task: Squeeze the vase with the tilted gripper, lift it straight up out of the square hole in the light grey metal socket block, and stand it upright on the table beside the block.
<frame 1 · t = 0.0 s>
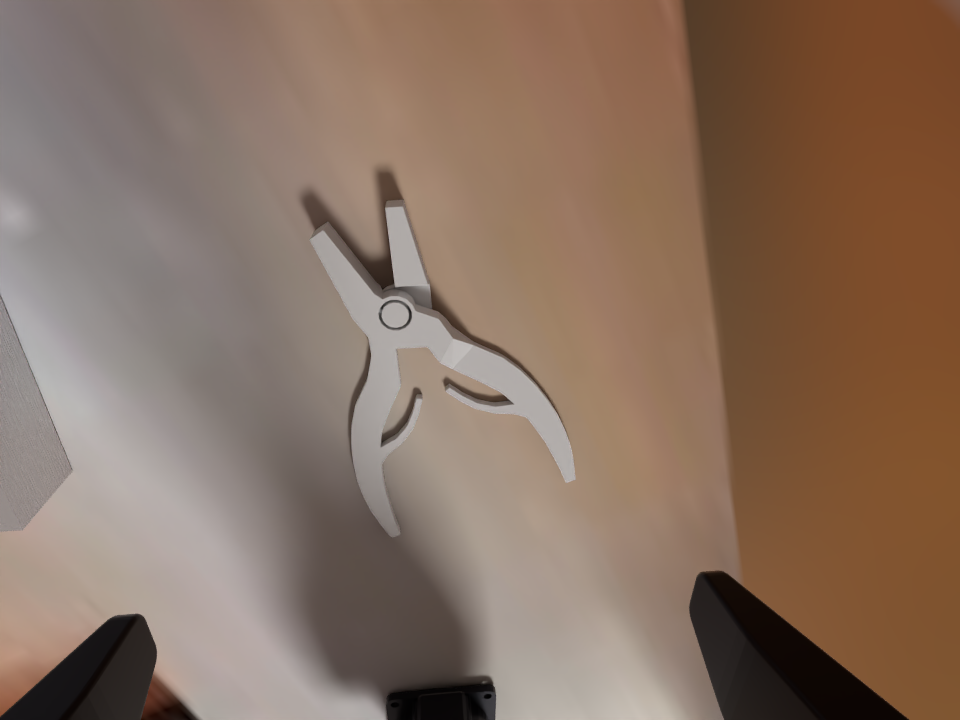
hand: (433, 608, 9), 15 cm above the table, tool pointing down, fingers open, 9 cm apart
pliers: (428, 372, 25), on the table
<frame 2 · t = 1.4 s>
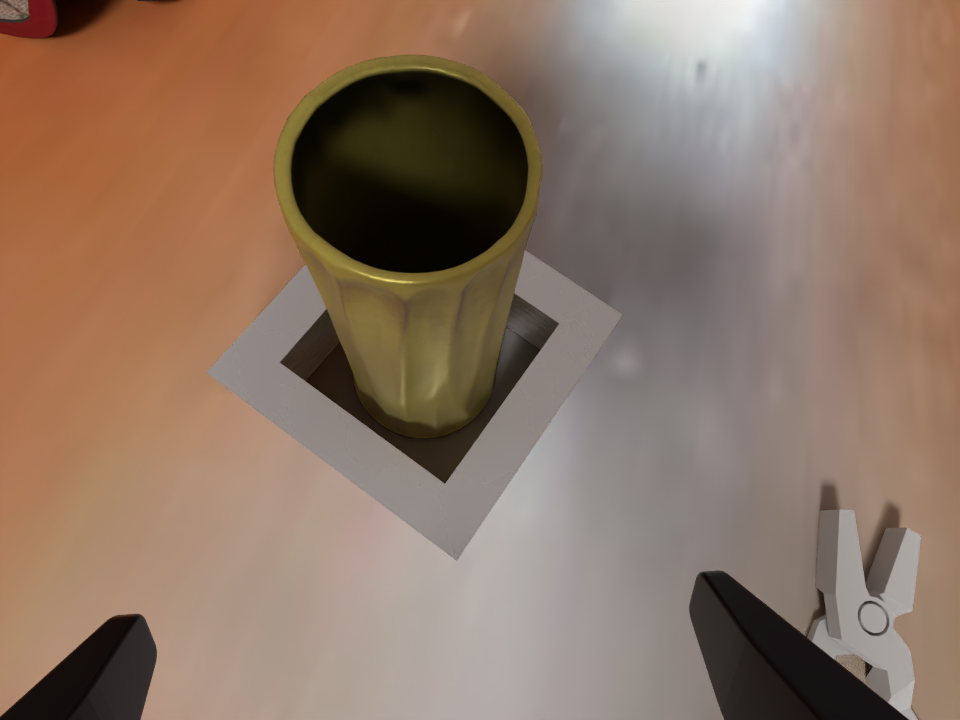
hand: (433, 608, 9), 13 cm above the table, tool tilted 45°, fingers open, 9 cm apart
pliers: (832, 710, 22), on the table
socket block: (425, 368, 24), on the table
vase: (425, 370, 25), resting in socket block
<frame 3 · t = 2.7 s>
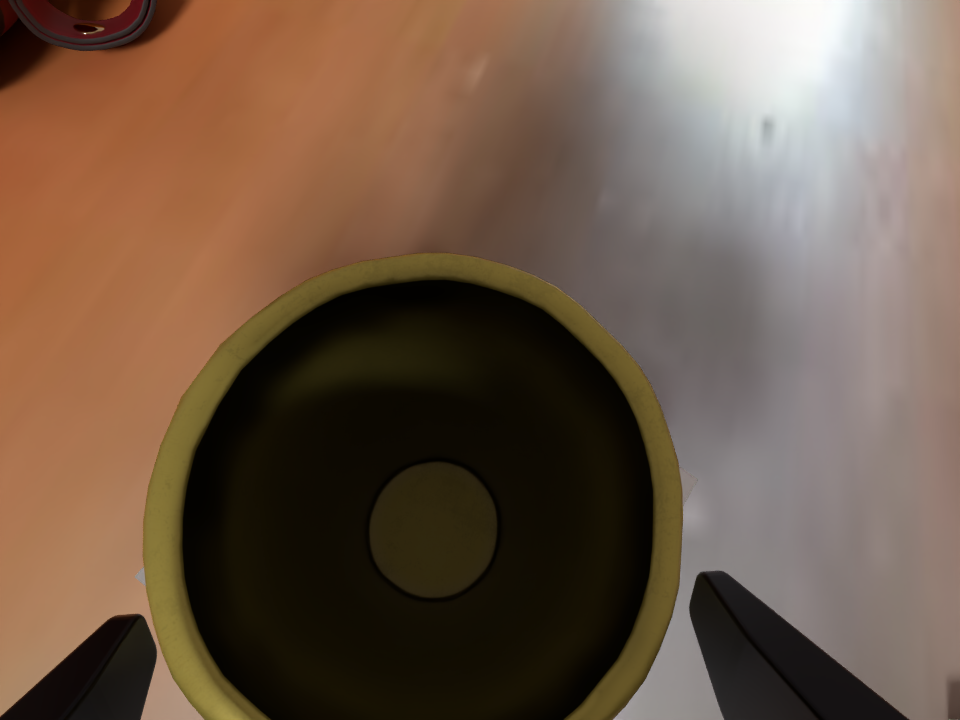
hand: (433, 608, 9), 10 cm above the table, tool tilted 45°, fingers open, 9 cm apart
socket block: (433, 528, 19), on the table
vase: (433, 528, 19), resting in socket block
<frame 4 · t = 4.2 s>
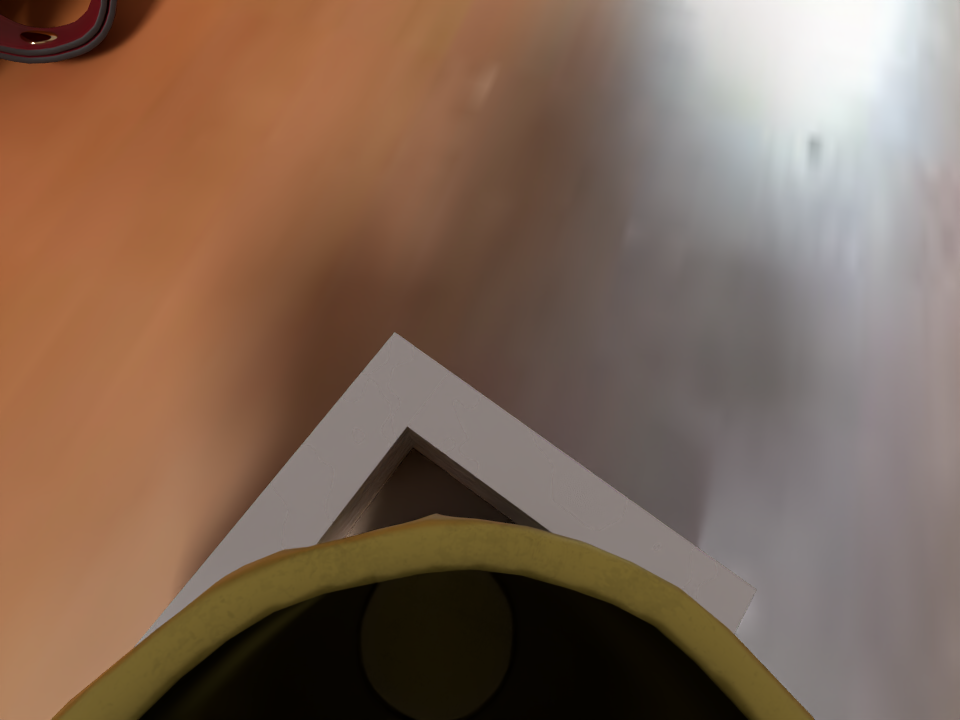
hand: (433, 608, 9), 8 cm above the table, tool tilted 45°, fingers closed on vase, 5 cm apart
socket block: (437, 629, 16), on the table
vase: (437, 627, 16), resting in socket block, touching gripper
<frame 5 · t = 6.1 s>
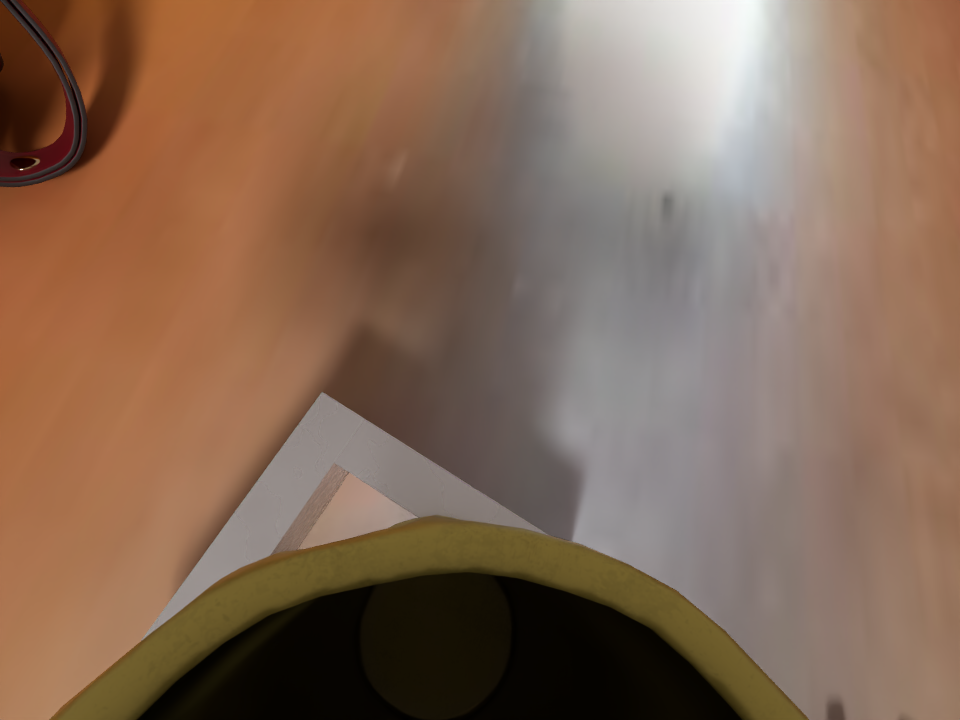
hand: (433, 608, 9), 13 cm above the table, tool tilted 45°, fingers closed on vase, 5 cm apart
socket block: (373, 609, 21), on the table
vase: (436, 626, 16), point 5 cm above the table, touching gripper
when the fingers open (9 cm above the table, at t = 8.5 s): vase stays where it is, on the table.
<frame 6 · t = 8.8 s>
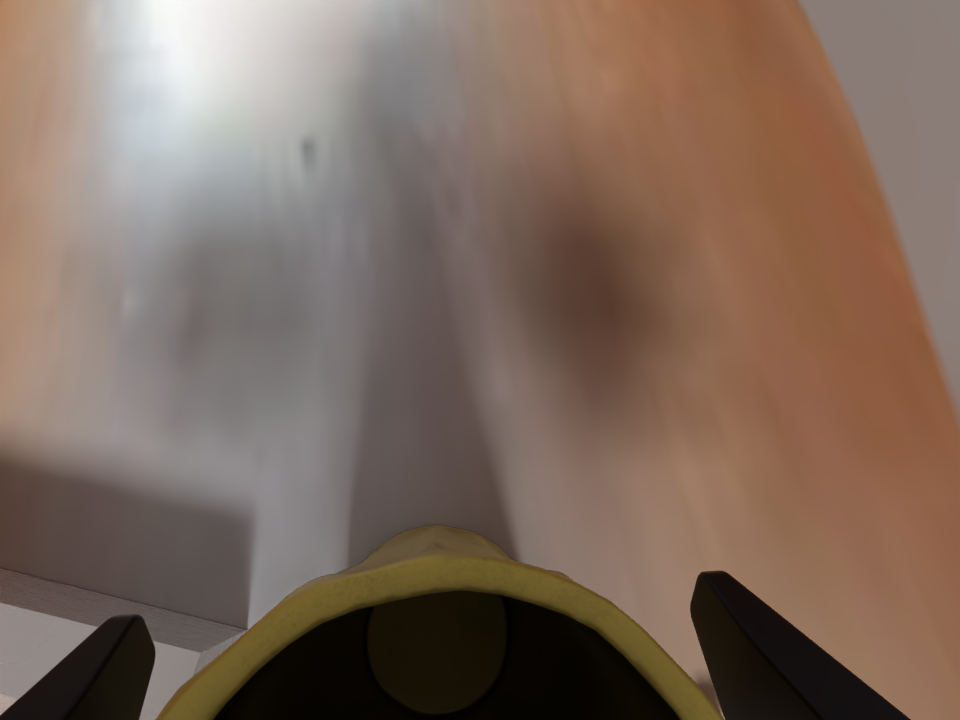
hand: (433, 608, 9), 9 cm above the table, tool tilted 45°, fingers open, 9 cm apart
vase: (437, 628, 18), on the table
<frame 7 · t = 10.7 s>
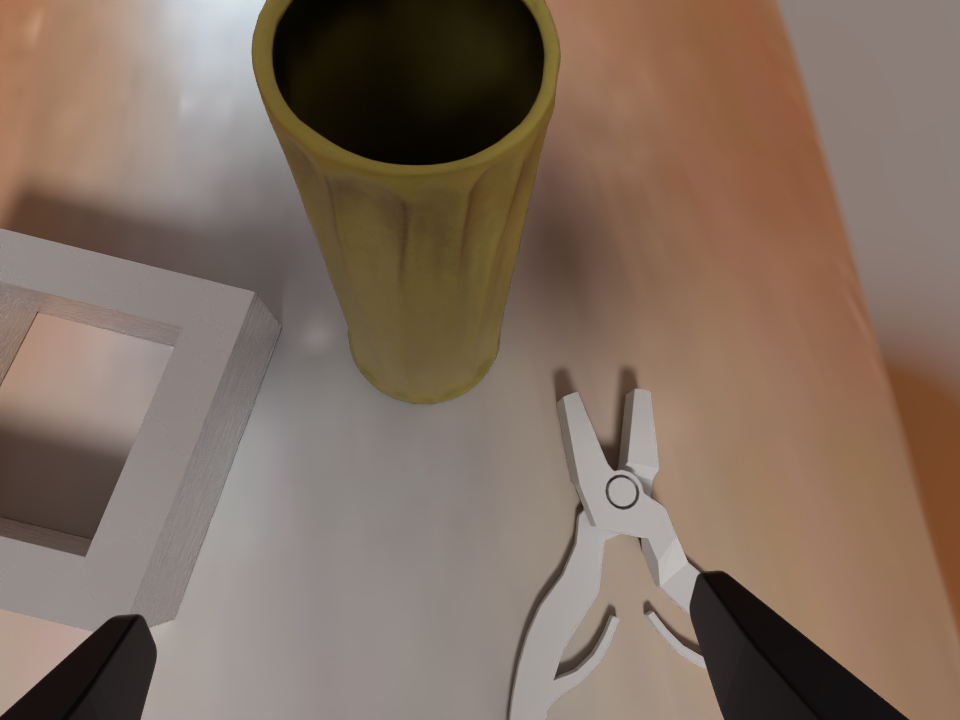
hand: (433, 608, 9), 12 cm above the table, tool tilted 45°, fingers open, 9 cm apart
pliers: (622, 595, 21), on the table
socket block: (88, 426, 21), on the table
vase: (425, 333, 23), on the table
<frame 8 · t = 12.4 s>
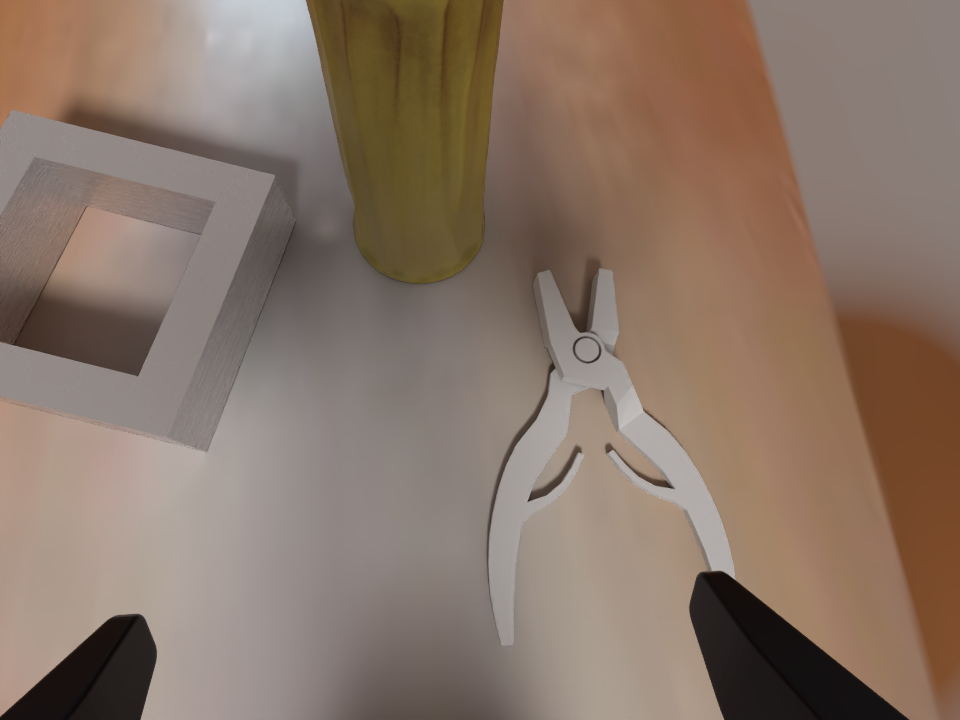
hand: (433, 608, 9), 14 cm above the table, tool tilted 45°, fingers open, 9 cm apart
pliers: (588, 442, 25), on the table
socket block: (131, 298, 25), on the table
vase: (420, 228, 27), on the table
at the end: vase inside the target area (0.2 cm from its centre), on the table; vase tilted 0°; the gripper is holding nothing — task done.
